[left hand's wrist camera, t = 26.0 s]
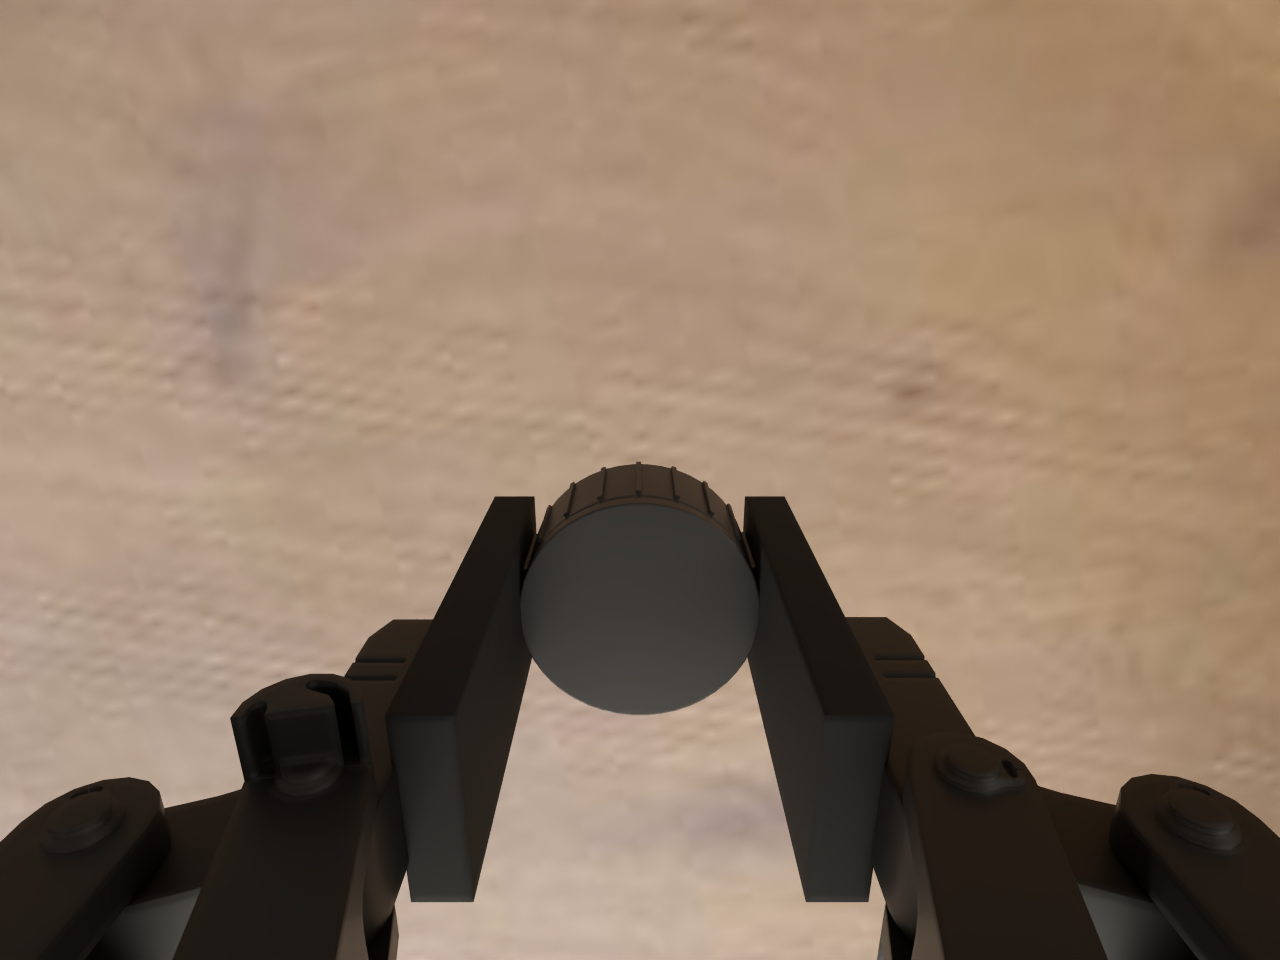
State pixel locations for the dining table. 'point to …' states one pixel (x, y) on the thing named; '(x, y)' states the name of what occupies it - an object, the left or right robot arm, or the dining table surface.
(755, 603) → the cap
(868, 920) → the dining table surface
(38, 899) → the left robot arm
